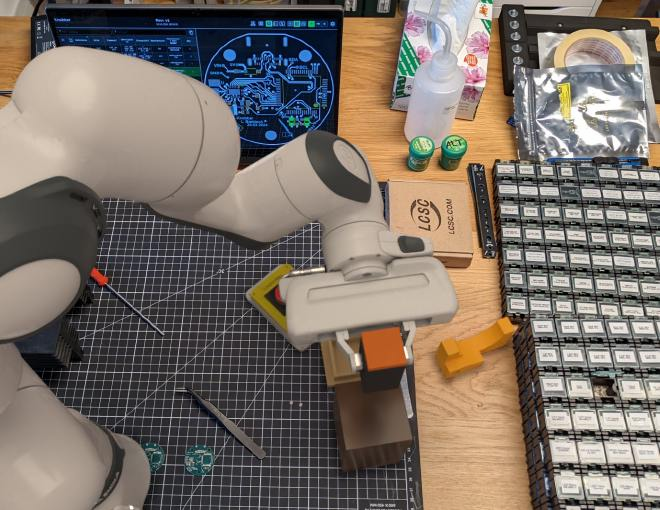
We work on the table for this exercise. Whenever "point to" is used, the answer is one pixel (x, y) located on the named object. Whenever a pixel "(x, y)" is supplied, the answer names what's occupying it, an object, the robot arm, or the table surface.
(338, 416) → the stand
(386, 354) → the orange and black block
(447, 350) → the orange curved piece
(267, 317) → the emergency button
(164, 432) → the table surface
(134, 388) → the table surface
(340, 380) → the base pad
